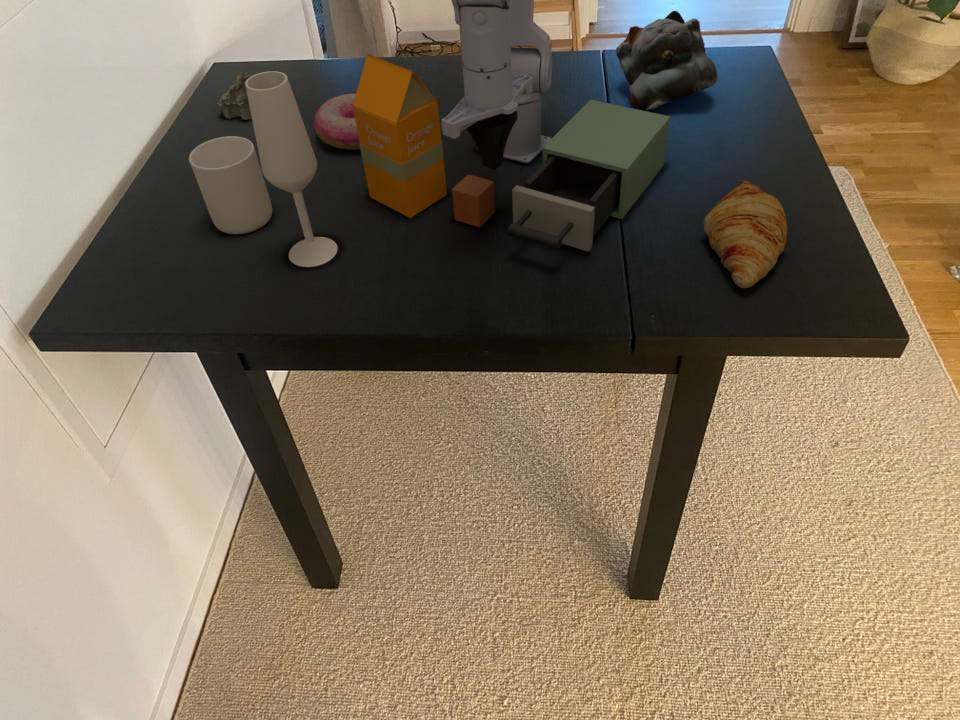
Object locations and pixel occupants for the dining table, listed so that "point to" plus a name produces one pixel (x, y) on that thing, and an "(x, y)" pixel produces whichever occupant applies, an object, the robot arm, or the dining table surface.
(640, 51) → the lucky cat figurine
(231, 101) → the grey rough lump
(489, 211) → the rust orange cube
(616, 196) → the cream drawer
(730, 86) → the dining table surface
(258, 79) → the champagne flute
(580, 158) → the green drawer box
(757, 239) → the croissant
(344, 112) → the donut
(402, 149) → the orange juice
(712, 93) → the dining table surface
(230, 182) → the mug
